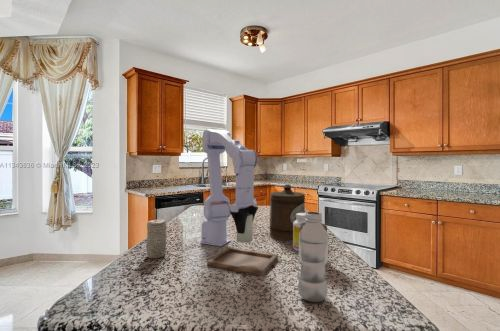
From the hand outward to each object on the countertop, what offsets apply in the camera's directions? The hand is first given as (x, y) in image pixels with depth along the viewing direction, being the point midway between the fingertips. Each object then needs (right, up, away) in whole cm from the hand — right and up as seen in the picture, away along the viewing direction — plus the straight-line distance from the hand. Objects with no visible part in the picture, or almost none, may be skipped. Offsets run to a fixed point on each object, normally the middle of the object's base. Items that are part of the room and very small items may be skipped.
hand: (244, 230), depth 83 cm
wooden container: (+18, -10, +30) cm, 36 cm away
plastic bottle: (+16, -11, -22) cm, 29 cm away
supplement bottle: (+21, -10, +12) cm, 26 cm away
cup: (0, -3, 0) cm, 3 cm away
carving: (-30, -10, +5) cm, 32 cm away
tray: (0, -10, 0) cm, 10 cm away
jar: (+22, -10, 0) cm, 24 cm away
